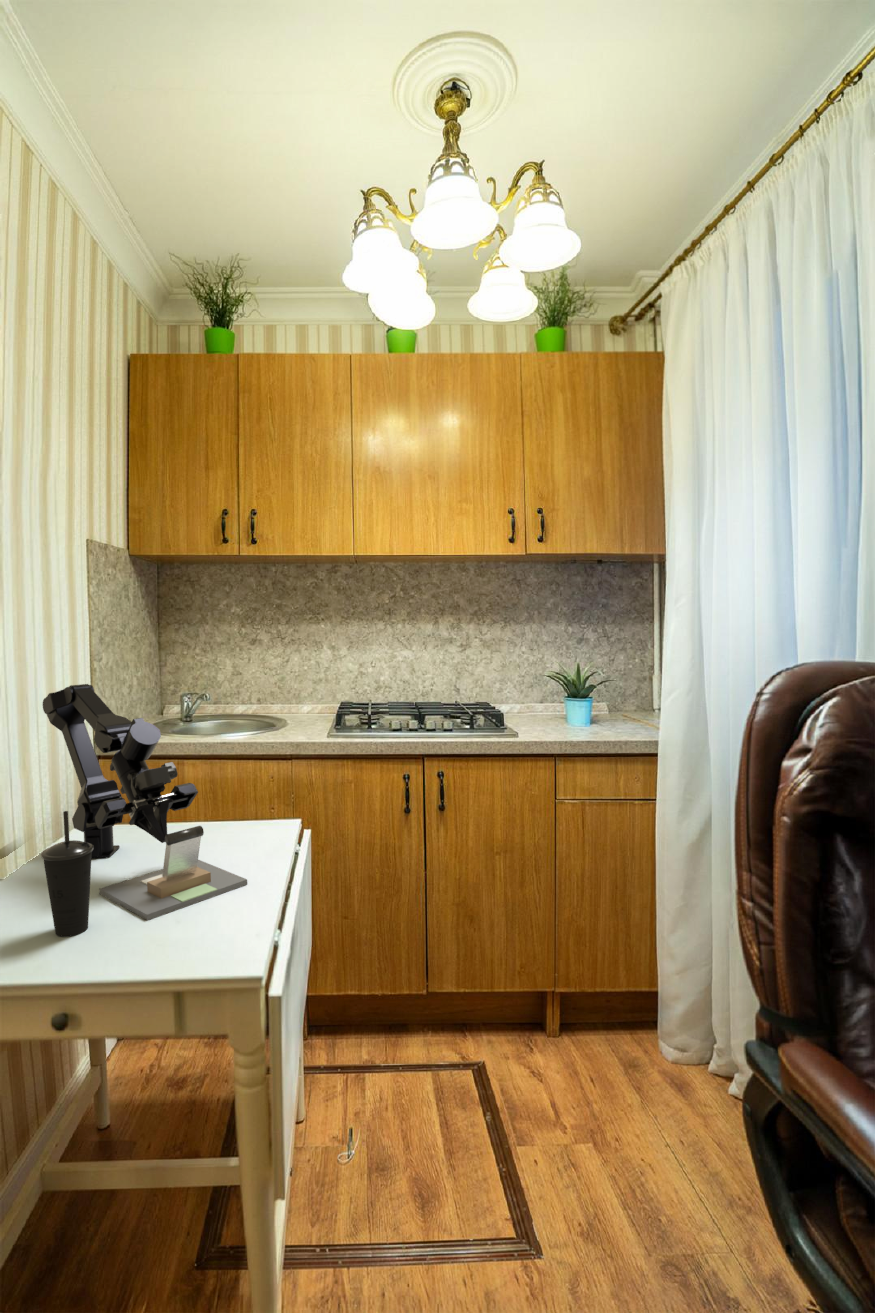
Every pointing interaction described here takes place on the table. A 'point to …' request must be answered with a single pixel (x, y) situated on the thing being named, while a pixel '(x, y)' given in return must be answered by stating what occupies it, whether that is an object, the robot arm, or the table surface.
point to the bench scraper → (182, 852)
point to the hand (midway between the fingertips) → (164, 841)
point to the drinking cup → (69, 883)
